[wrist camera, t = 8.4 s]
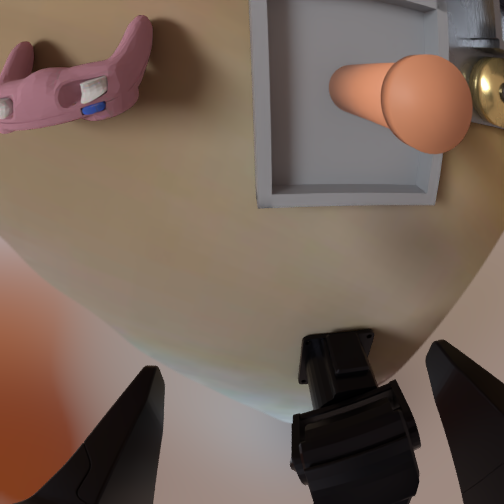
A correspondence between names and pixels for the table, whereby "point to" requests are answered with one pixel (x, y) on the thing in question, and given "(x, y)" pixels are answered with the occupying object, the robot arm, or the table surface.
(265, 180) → the tray
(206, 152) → the table surface
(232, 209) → the table surface
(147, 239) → the table surface
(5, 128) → the video game controller
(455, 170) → the table surface
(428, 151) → the pin
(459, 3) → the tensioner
